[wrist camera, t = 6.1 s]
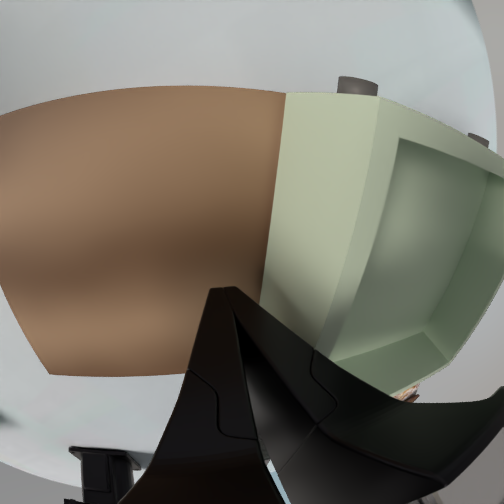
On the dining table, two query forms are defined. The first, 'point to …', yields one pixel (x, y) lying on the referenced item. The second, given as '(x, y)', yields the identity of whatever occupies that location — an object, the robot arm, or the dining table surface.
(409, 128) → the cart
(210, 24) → the dining table surface
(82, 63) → the dining table surface
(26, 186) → the track
